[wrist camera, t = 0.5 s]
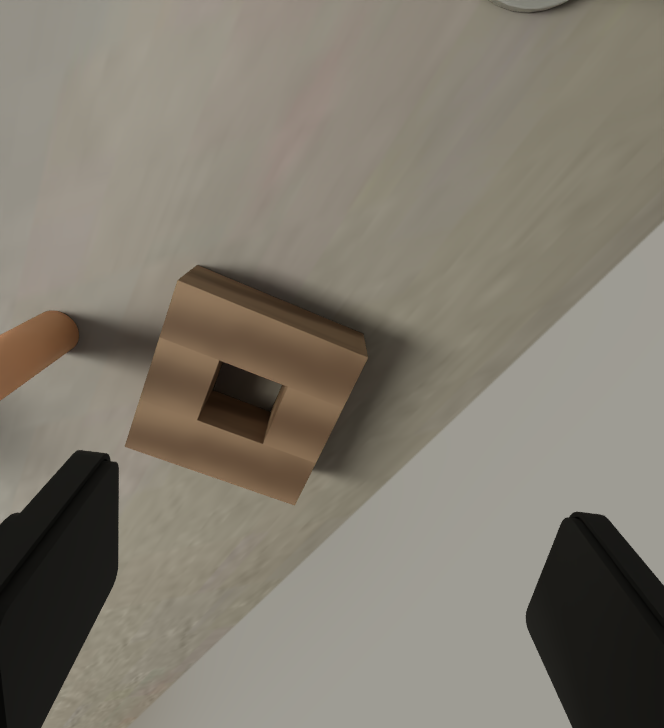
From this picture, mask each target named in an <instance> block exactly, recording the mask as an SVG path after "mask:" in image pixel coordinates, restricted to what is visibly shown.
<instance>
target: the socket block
mask: <svg viewBox="0 0 664 728" xmlns="http://www.w3.org/2000/svg"><path fill="white" fill-rule="evenodd" d="M367 359H368V354H367V349H366V345H365V340H364V335H363V333H360V332H358V331H355V330H353V329H350V328H348V327H346V326H343V325H341V324H338V323H336V322H334V321H331V320H329V319H326V318H324V317H322V316H319V315H317V314H314V313H312V312H309V311H307V310H305V309H302V308H300V307H297V306H295V305H293V304H290V303H288V302H285V301H283V300H280V299H278V298H276V297H273V296H271V295H268V294H266V293H264V292H261V291H259V290H256V289H254V288H252V287H249V286H247V285H244V284H242V283H239V282H237V281H235V280H232V279H230V278H227V277H225V276H223V275H220V274H218V273H215V272H213V271H211V270H208V269H206V268H203V267H201V266H198V265H197V266H195V267H194V268H193V269H191V270H190V271H189V272H188V273H186V274H185V275H184V276H182V277H181V278H180V279H179V280H178V281H177V284H176V287H175V290H174V293H173V296H172V299H171V303H170V306H169V309H168V312H167V315H166V318H165V321H164V325H163V328H162V331H161V334H160V337H159V340H158V343H157V347H156V350H155V353H154V356H153V359H152V362H151V365H150V369H149V372H148V375H147V378H146V381H145V384H144V387H143V391H142V394H141V397H140V400H139V403H138V406H137V409H136V413H135V416H134V419H133V422H132V425H131V428H130V431H129V435H128V438H127V441H126V444H125V447H127V448H130V449H133V450H136V451H139V452H142V453H145V454H148V455H150V456H153V457H156V458H159V459H162V460H165V461H168V462H171V463H174V464H176V465H179V466H182V467H185V468H188V469H191V470H194V471H197V472H200V473H202V474H205V475H208V476H211V477H214V478H217V479H220V480H223V481H226V482H228V483H231V484H234V485H237V486H240V487H243V488H246V489H249V490H252V491H254V492H257V493H260V494H263V495H266V496H269V497H272V498H275V499H278V500H280V501H283V502H286V503H289V504H292V505H295V504H296V502H297V500H298V498H299V496H300V494H301V492H302V490H303V488H304V486H305V484H306V482H307V480H308V478H309V476H310V474H311V472H312V470H313V468H314V466H315V464H316V462H317V460H318V458H319V456H320V454H321V452H322V450H323V448H324V446H325V444H326V442H327V440H328V438H329V436H330V434H331V432H332V430H333V428H334V425H335V423H336V421H337V419H338V417H339V415H340V413H341V411H342V409H343V407H344V405H345V403H346V401H347V399H348V397H349V395H350V393H351V391H352V389H353V387H354V385H355V383H356V381H357V379H358V377H359V375H360V373H361V371H362V369H363V367H364V365H365V363H366V361H367ZM223 362H225V363H228V364H230V365H233V366H235V367H238V368H241V369H243V370H246V371H248V372H251V373H253V374H256V375H259V376H261V377H264V378H266V379H269V380H272V381H274V382H277V383H279V384H282V387H281V389H280V391H279V394H278V396H277V398H276V400H275V403H274V405H273V407H272V410H271V412H270V411H267V410H264V409H262V408H259V407H256V406H254V405H251V404H248V403H246V402H243V401H240V400H238V399H235V398H232V397H230V396H227V395H224V394H222V393H219V392H216V391H214V390H213V387H214V385H215V382H216V379H217V377H218V374H219V371H220V369H221V366H222V363H223Z"/></svg>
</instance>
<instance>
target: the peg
mask: <svg viewBox="0 0 664 728" xmlns="http://www.w3.org/2000/svg"><path fill="white" fill-rule="evenodd" d="M78 339H79V331H78V328H77V326H76V324H75V323H74V321H73V320H72V319H71V318H70V317H69V316H67V315H66V314H64V313H62V312H59V311H46V312H44V313H42V314H40V315H38V316H36V317H34V318H32V319H30V320H28V321H26V322H24V323H22V324H21V325H19V326H17V327H15V328H13V329H11V330H9V331H7V332H5V333H3V334H1V335H0V400H2V399H3V398H5V397H6V396H7V395H9V394H10V393H12V392H13V391H14V390H16V389H17V388H18V387H20V386H21V385H23V384H24V383H25V382H27V381H28V380H30V379H31V378H32V377H34V376H35V375H36V374H38V373H39V372H41V371H42V370H43V369H45V368H46V367H48V366H49V365H50V364H52V363H53V362H55V361H56V360H57V359H59V358H60V357H61V356H63V355H64V354H66V353H67V352H68V351H70V350H71V349H73V348H74V347H75V346H76V344H77V342H78Z"/></svg>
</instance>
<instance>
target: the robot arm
mask: <svg viewBox="0 0 664 728" xmlns="http://www.w3.org/2000/svg"><path fill="white" fill-rule="evenodd" d="M489 1H490V2H492V3H494V4H495V5H497V6H499V7H502V8H505V9H508V10H511V11H518V12H536V11H543V10H547V9H550V8H553V7H556V6H558V5H561V4H563V3H565V2H567V1H568V0H489ZM118 503H119V467H118V463H117V462H111V461H110V456H109V455H108V454H107V453H99V452H91V451H83V450H78V451H76V452H75V453H74V454H73V455H72V456H71V457H70V458H69V459H68V460H67V461H66V462H65V464H64V465H63V466H62V467H61V468H60V469H59V470H58V471H57V473H56V474H55V475H54V476H53V477H52V478H51V479H50V480H49V481H48V483H47V484H46V485H45V486H44V487H43V488H42V489H41V490H40V492H39V493H38V494H37V495H36V496H35V497H34V498H33V499H32V500H31V502H30V503H29V504H28V505H27V506H26V507H25V508H24V509H23V510H22V512H21V513H14V514H11V515H10V516H9V517H8V518H6V519H5V520H4V521H3V522H2V523H1V524H0V728H41V727H42V725H43V723H44V721H45V719H46V717H47V715H48V713H49V711H50V709H51V707H52V705H53V703H54V701H55V699H56V697H57V695H58V693H59V691H60V689H61V687H62V685H63V683H64V681H65V679H66V677H67V676H68V674H69V672H70V670H71V668H72V666H73V664H74V662H75V660H76V658H77V656H78V654H79V652H80V650H81V648H82V646H83V644H84V642H85V640H86V638H87V636H88V634H89V632H90V630H91V628H92V626H93V624H94V623H95V621H96V619H97V617H98V615H99V613H100V611H101V609H102V607H103V605H104V603H105V601H106V599H107V597H108V595H109V593H110V591H111V589H112V587H113V585H114V582H115V580H116V576H117V571H118ZM526 623H527V628H528V630H529V633H530V635H531V637H532V640H533V642H534V644H535V646H536V648H537V650H538V653H539V655H540V657H541V659H542V662H543V664H544V666H545V668H546V670H547V673H548V675H549V677H550V679H551V681H552V683H553V686H554V688H555V690H556V692H557V695H558V697H559V699H560V701H561V703H562V705H563V708H564V710H565V712H566V714H567V716H568V719H569V721H570V723H571V725H572V728H664V585H663V584H662V583H661V582H660V581H659V579H658V578H657V577H656V576H655V575H654V573H652V571H651V570H650V569H649V567H648V566H647V565H646V564H645V563H644V561H643V560H642V559H641V558H640V557H639V555H638V554H637V553H636V552H635V551H634V549H633V548H632V547H631V546H630V545H629V543H628V542H627V541H626V540H625V539H624V537H623V536H622V535H621V534H620V533H619V532H618V530H617V529H616V528H615V527H614V526H613V524H612V523H611V522H610V521H609V520H608V519H607V518H606V517H605V516H603V515H599V514H591V513H583V512H574V513H572V514H571V515H570V517H569V518H565V519H564V520H563V521H562V523H561V525H560V528H559V530H558V533H557V535H556V538H555V540H554V543H553V545H552V548H551V550H550V553H549V555H548V558H547V560H546V563H545V565H544V568H543V570H542V573H541V575H540V578H539V581H538V583H537V585H536V588H535V591H534V593H533V596H532V598H531V601H530V603H529V606H528V608H527V611H526Z"/></svg>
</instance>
